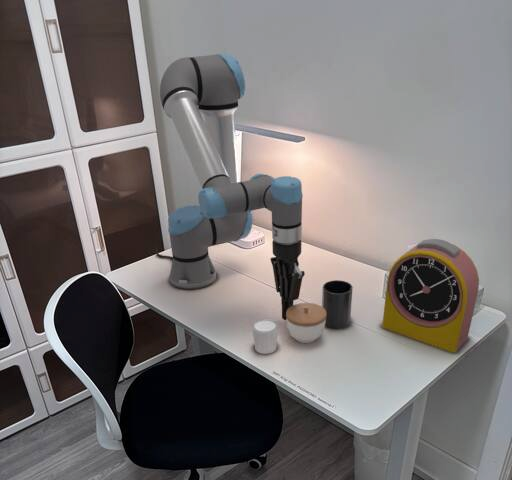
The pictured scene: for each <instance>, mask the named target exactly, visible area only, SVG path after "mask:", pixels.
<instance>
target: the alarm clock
mask: <svg viewBox="0 0 512 480" xmlns="http://www.w3.org/2000/svg"><path fill="white" fill-rule="evenodd" d="M479 286H480V277H479V273H478V269H477V267H476V265H475V263H474V261H473V260H472V258H471V257H470V256H469V255H468V254H467V253H466V252H465V251H464V250H463V249H462V248H460V247H458V246H457V245H455V244H453V243H451V242H449V241H446V240H443V239H440V238H429V239H423V240H422V241H420V242H418V243H417V244H416V245H415V246H413V247H412V248H411V249H409V250H408V251H406V252H405V253H403V254H402V255H401V256H400V257H399V258H397V259H396V261H395V262H393V264H392V266H391V268H390V270H389V272H388V275H387V281H386V289H385V299H384V307H383V316H382V325H381V327H382V329H385V330H388V331H391V332H393V333H396V334H399V335H401V336H405V337H407V338H410V339H413V340H416V341H419V342H421V343H425V344H426V345H429V346H433V347H436V348H438V349H441V350H444V351H446V352H449V353H456V352H458V350H459V349H460V348H461V347H462V346H463V345H464V344H465V343H466V341H467V340H468V338H469V333H470V329H471V325H472V321H473V320H472V319H473V316H474V310H475V306H476V304H477V297H478V294H479V293H478V292H479Z"/></svg>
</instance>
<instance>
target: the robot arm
mask: <svg viewBox="0 0 512 480" xmlns="http://www.w3.org/2000/svg"><path fill="white" fill-rule="evenodd" d="M245 91H246V80H245V76H244V71H243V69H242V67H241V64H240V63H239V61H238V59H237V58H236V57H234V56H233V55H232V54H228V53H227V54H223V53H222V54H221V53H220V54H219V53H217V54H216V53H215V54H208V55H201V56H192V57H187V56H186V57H180V58H178V59H176V60H174V61H173V62H172V63H170V64H169V65H168V67H166V69H165V71H164V73H163V74H162V77H161V81H160V85H159V99H160V103H161V107H162V109H163V112H164V113H165V115H166V117H168V118H170V119H171V120H172V123H173V125H174V127H175V129H176V131H177V134H178V136H179V138H180V140H181V143H182V145H183V147H184V150H185V152H186V154H187V157H188V159H189V162H190V163H191V166H192V168H193V171H194V173H195V175H196V178H197V180H198V182H199V185H200V187H201V188H202V189H200V191H198V196H197V197H198V205H196V204H195V205H186V206H183V207H179V208H177V209H175V210H173V212H171V213H170V214H169V216H168V219H167V223H168V225H167V226H168V229H167V230H168V234H169V241H170V248H171V254H172V256H169V255H163V254H159V251H158V248H154V252H155V254H156V256H157V257H159V258H162V259H163V258H164V259H170V260H172V262H171V267H170V272H169V280H170V281H169V282H170V284H171V285H172V286H173V287H175V288H178V289H182V290H197V289H201V288H205V287H208V286H210V285H211V284H213V283H214V282H215V281H216V279H217V271H216V269H215V267H214V264H213V261H212V259H211V258H210V255H209V248H210V247H215V246H219V245H222V244H223V245H224V244H227V243H232V242H237V241H240V240H243V239H246V238H247V237H248V236H249V235H250V234H251V231H252V227H253V213H252V211H256V210H262V209H266V210H268V211H269V212H271V227H272V228H271V229H272V230H271V234H272V235H271V236H272V241H271V245H272V254H273V256H272V257H270V259H269V260H270V262H271V263H270V264H271V266H272V271H273V278H274V283H275V291H276V293H279V297H280V298H281V299H280V300H281V301H280V302H281V303H280V304H281V319H282V320H283V321H287V318H286V311H287V309H288V308H289V307H291V306H293V305H294V301H296V300H299V298H300V293H301V288H302V283H303V278H304V277H305V274H306V273H305V271H304V270H301V269H300V268H299V266H300V264H299V263H300V262H299V257H300V256H301V254H302V238H303V224H302V221H303V220H302V218H303V190H302V189H303V188H302V185H303V184H302V181H301V179H299V178H298V177H296V176H291V175H287V176H286V175H285V176H278V177H275V178H274V177H273V176H272V175H268V174H265V173H256V174H254V175H253V176H252V177H251V178H250V179H249V180H244V181H239V174H238V159H237V144H236V129H235V115H234V114H235V112H236V111H237V109H238V108H239V100H241V99H242V98H243V97H244V95H245ZM201 113H202V114H201ZM202 115H203V116H202Z"/></svg>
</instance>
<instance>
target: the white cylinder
mask: <svg viewBox="0 0 512 480" xmlns="http://www.w3.org/2000/svg"><path fill="white" fill-rule="evenodd" d="M251 330H252V337H253V342H254V349H255V351H256V352H257V353H259V354H263V355H269V354H272V353H274V352H275V351H276V350H277V345H278V335H279V334H278V333H279V323H277V321H276V320H273V319H269V318H261V319H257V320H256V321H254V322H253V323H252V324H251Z"/></svg>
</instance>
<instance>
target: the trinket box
mask: <svg viewBox="0 0 512 480" xmlns="http://www.w3.org/2000/svg"><path fill="white" fill-rule="evenodd" d="M326 316H327V312H326V310H325V309H324V308H323V307H322V305H320V304H317V303H313V302H299V303H296V304H293V306H291V307H289V308H288V309H287V311H286V318H287V320H286V327H287V330H288V332H289V334H290V335H291V337H292V338H293V339H295V340H296V341H297V342H299V343H300V344H301V343H302V344H311V343H314V342H315V341H316V340H318V338H320V337H321V336H322V334H323V333H324V331H325V328H326V326H325V324H326Z"/></svg>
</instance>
